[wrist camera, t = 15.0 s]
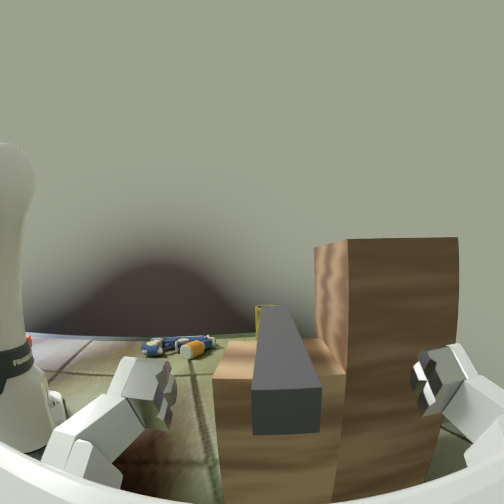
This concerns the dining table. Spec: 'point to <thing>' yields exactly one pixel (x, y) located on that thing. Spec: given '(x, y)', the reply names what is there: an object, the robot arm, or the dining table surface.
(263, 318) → the bar
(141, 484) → the dining table surface
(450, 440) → the dining table surface
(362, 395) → the stand
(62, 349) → the dining table surface
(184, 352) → the toy blaster gun
